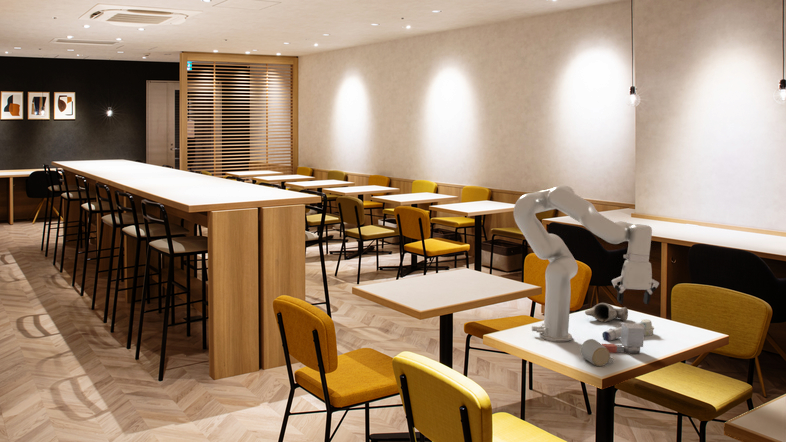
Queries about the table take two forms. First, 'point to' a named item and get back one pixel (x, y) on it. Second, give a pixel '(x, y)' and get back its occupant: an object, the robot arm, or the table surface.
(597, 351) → the ceramic mug
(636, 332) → the brushed grey cube
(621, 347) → the ratchet
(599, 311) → the grey clay vessel
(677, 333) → the table surface
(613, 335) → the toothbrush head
